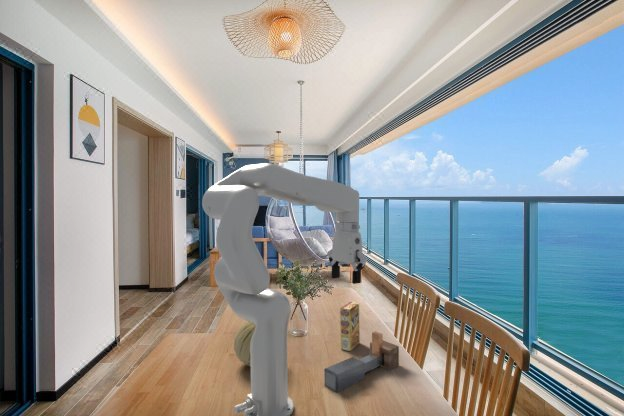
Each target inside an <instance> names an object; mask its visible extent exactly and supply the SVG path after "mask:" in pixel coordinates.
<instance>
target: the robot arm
mask: <svg viewBox="0 0 624 416" xmlns="http://www.w3.org/2000/svg"><path fill="white" fill-rule="evenodd" d="M259 197H268V198H273V199H275V200H279V201H284V202H287V203H291V204H293V205H298V206H307V207H308V206H309V207H310V206H311V207H313V206H314V207H315V208H316V209H317V210H319V211H321V212H325V213H335V218H334V219H335V221H334V225H335V226H334V227H335V228H334V230H335V231H334V232H333V238H332V247H331V249H330V250H328V251H327V253H326V254H327V257H328V261H329V265H330V266H331V279H339V278H340V276H341V265H340V263H343V264H348V265H351V267H352V269H353V270H352V279H351V281H352V282H351V283H352V284H353V285H355V284H357V285H358V284H360V283H362V271H363V270H364V268H365V267H366V264H367V262H368V257H367V256H366V255H365V254H364V253H363V241H362V236H361V235H362V234H361V232H359V229H360V228H361V226H360V225H359V222H360V221H359V220H360V193H359V191H358V190H357V189H354V188H352V187H351V186H349V185H347V184H343V183H342V182H338V181H333V180H329V179H323V178H319V177H315V176H311V175H307V174H306V175H305V174H302V173H300V172H297V171H294V170H291V169H288V168H286V167H284V166H280V165H279V164H278V165H277V164H275V163H270V162H264V163H256V164H255V163H254V164H247V165H244V166H242V167H240V168H239V169H237V170H235V171H234V172H232V173H230V174H229V175H227V176H226V177H224V178H223V179H222V180H219V181H218V182H216V183H214V185H212V186H210V187H209V188H208V189H206V191H205V192H204V194H203V197H202V201H201V205H202V209H203V211H204V213H205V214H206V215H207V216H208V217H210V218H212V219H215V220H220V221H219V225H218V226H217V227H218V228H217V232H216V238H215V240H216V242H215V244H216V246H217V250H218V253H219V255H220V257H219V258H218V259H217V261H216V263H215V265H214V269H213V275H214V276H213V277H214V281H215V283H216V285H217V287H218V289H219V291H220V292H221V294H222V296H223V297H224V299H225V301H226V302H227V303H226V304H228V306H229V307H230V309H231V311H232V312H233V313H234V314H235V316H237V318H240V319H242V320H244V321H247V322H252V323H254V324H255V325H256V328H255V331H254V333H253V335H252V338H251V343H250V356H251V367H250V393H248V394H247V395H246V396H247V397H246V398H247V399H245V400H244V402H242V403H239V404H237V405H234V406H233V407H232V409H233V413H234V414H235V415H239V414H240V413H243V416H291V415H292V413H293V411H294V410H295V409H294V408H295V407H294V405H295V404H294V401H293V399H292V398H291V397H289V396H288V395H289V394H288V390H289V389H288V328H289V322H290V318H291V312H292V311H291V310H292V309H291V308H292V307H291V306H292V305H291V303H290V300H289V299H288V297H287V296H286V295H285V294H284V293H282V292H281V291H279V290H276V289H272V288H269V285H270V281H271V275H270V272H269V269H268V267H267V263H265V261H264V259H263V257H262V255H261V252H260V250H259V249H258V247H257V244H256V243H255V240H254V238H253V226H254V222H255V219H256V216H257V214H258V211H259V208H260V198H259Z"/></svg>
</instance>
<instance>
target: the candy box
mask: <svg viewBox="0 0 624 416" xmlns="http://www.w3.org/2000/svg"><path fill="white" fill-rule="evenodd" d="M339 310H340V311H339V312H340V313H339V314H340V316H339V317H340V323H339V324H340V350H344V351H348V352H351V351H352V350H353V349H354V348H355V347H357V346H358V345H359V344H360V338H361V337H360V336H361V335H360V334H361V333H360V303H359V302H354V301H353V302H352V301H349V302H348V303H347V304H345V305H344V306H341V307H340V309H339Z"/></svg>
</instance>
